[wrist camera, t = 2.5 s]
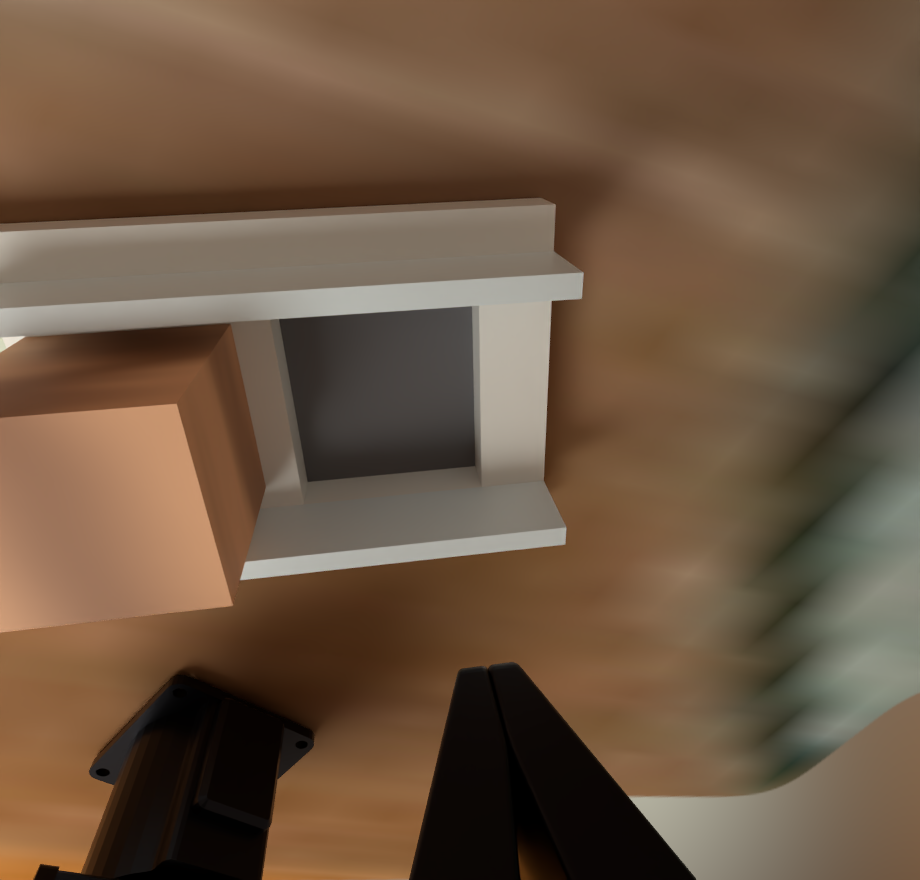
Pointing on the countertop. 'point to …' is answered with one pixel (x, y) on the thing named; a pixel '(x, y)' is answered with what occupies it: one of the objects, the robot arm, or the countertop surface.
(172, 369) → the block
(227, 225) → the channel
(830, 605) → the countertop surface
